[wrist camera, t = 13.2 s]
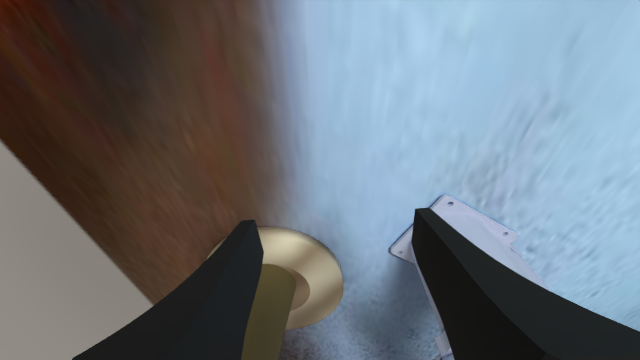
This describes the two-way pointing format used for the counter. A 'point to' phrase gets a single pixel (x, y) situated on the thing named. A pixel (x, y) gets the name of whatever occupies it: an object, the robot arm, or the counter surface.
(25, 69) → the counter surface
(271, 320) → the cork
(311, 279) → the birch stand
